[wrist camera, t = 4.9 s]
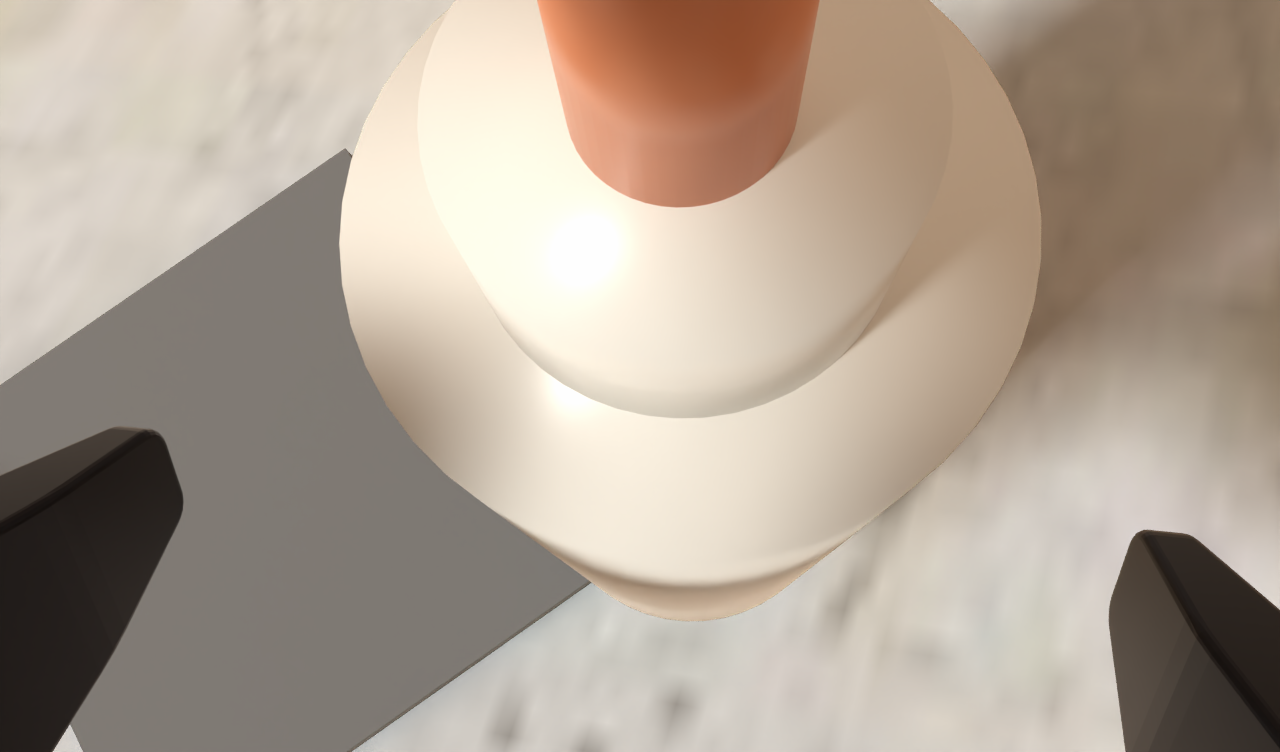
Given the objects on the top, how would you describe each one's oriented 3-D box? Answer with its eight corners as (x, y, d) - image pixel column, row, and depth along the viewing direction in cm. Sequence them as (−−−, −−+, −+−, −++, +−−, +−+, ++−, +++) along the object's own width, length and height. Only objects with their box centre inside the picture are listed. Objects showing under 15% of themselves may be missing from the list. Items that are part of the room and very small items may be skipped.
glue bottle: (654, 682, 17) (471, 796, 3) (493, 439, 18) (-148, -253, 4) (895, 508, 18) (1657, -61, 4) (722, 285, 19) (799, -757, 5)
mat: (162, 884, 18) (148, 890, 17) (-52, 434, 20) (-67, 431, 20) (621, 561, 18) (617, 561, 18) (353, 156, 21) (345, 148, 20)
